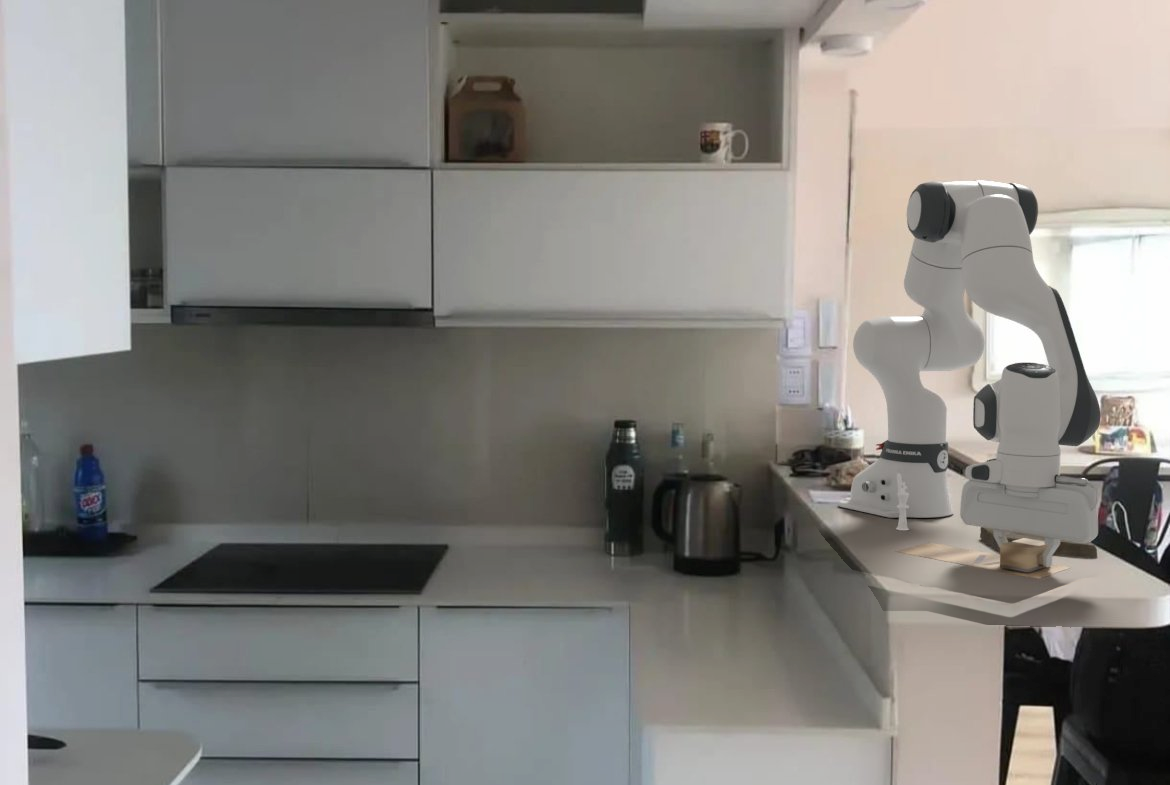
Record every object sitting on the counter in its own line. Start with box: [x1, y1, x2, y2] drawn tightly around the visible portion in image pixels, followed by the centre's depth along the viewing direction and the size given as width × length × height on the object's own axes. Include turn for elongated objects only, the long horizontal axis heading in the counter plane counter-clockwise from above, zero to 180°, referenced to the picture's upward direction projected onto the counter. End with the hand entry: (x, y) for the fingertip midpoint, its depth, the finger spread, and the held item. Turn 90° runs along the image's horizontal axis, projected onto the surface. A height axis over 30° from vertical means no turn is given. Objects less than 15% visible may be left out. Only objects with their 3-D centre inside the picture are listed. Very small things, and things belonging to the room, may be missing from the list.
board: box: [894, 542, 1070, 580], centre depth 171 cm, size 24×10×2 cm, turn 41°
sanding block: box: [999, 538, 1048, 572], centre depth 165 cm, size 4×7×4 cm, turn 131°
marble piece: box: [979, 527, 1098, 559], centre depth 181 cm, size 17×15×4 cm
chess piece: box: [895, 482, 910, 532], centre depth 194 cm, size 5×5×10 cm
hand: (1025, 562), depth 165 cm, fingers closed on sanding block, 4 cm apart
